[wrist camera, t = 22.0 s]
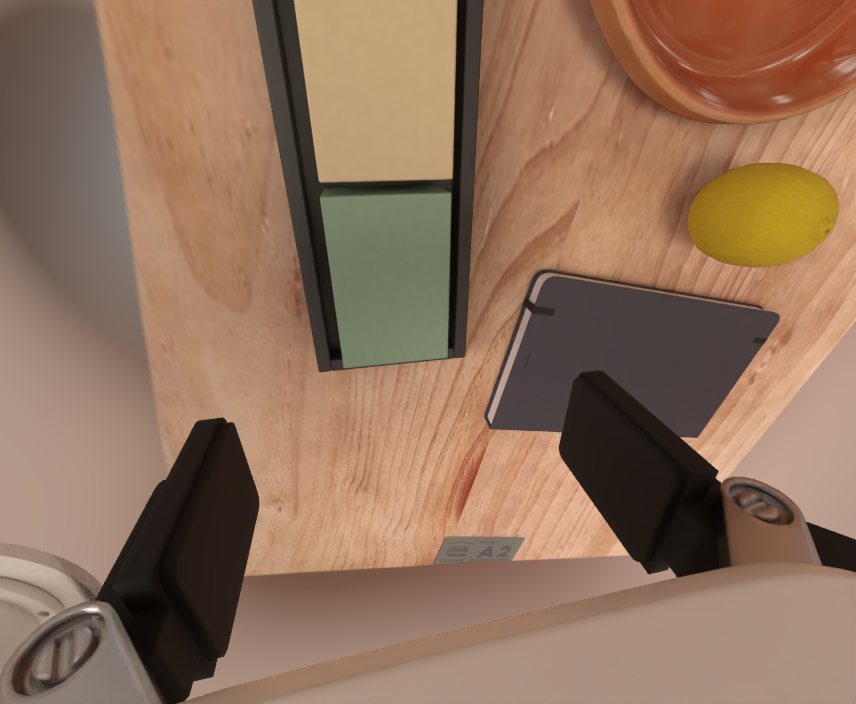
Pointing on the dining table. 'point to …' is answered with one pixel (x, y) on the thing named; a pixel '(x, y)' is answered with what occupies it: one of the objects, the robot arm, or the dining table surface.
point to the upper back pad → (380, 87)
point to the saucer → (734, 54)
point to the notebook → (624, 351)
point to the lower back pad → (389, 271)
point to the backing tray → (305, 189)
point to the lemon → (762, 214)
